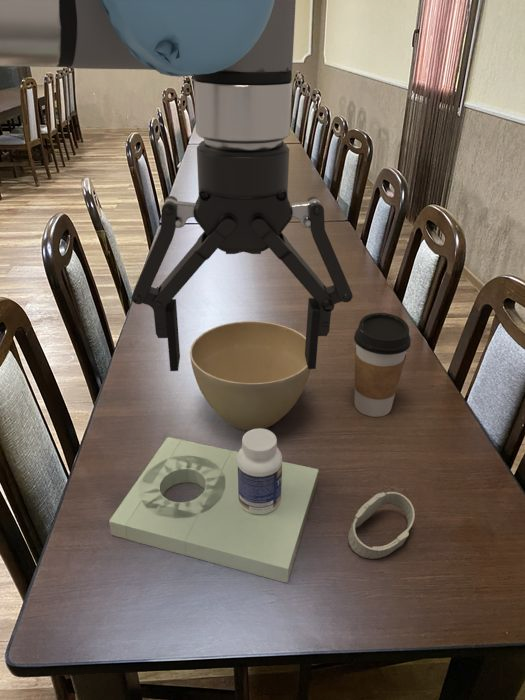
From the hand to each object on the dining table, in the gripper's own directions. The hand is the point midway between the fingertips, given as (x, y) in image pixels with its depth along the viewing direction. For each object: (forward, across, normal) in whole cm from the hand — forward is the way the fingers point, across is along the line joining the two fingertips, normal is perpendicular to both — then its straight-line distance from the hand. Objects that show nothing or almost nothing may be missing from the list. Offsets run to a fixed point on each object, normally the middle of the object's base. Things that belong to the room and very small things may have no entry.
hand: (243, 363), depth 54 cm
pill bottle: (+21, -2, -2) cm, 21 cm away
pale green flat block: (+24, +3, -3) cm, 24 cm away
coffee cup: (+24, -22, -23) cm, 40 cm away
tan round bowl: (+24, -2, -22) cm, 32 cm away
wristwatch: (+24, -17, +2) cm, 29 cm away
